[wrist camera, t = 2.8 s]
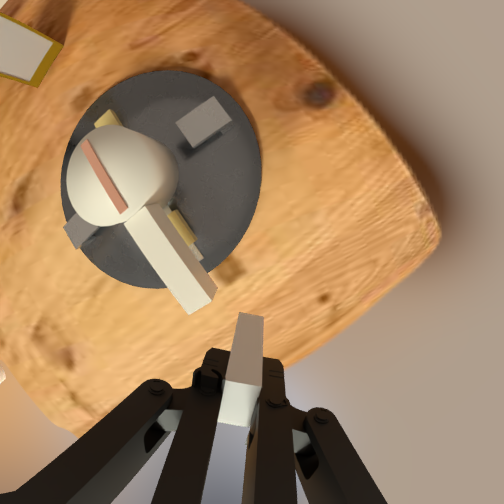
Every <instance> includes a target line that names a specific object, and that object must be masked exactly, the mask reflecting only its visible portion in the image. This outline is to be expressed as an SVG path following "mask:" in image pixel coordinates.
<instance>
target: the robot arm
mask: <svg viewBox="0 0 504 504" xmlns="http://www.w3.org/2000/svg"><path fill="white" fill-rule="evenodd" d="M263 325H264V317H262V316H257V315H252V314H247V313H242V312H239V316H238V321H237V325H236V330H235V334H234V339H233V344H232V348H231V351H226V350H221V349H216V348H211V349H210V350H208V351H207V352H206V355H205V358H204V360H203V363H202V366H201V367H199V368H197V369H196V370H195V371H194V372H193V380H192V386H191V387H189V388H185V389H172V387H171V385H170V384H169V383H167V382H166V381H163V380H160V379H150V380H147V381H145V382H143V383H142V384H141V385H140V386H139V387H138V388H137V389H136V390H135V391H133V392H132V393H131V394H130V395H129V396H128V397H127V398H125V399H124V400H123V401H122V402H121V403H120V404H119V405H118V406H116V407H115V408H114V409H113V410H112V411H111V412H110V413H108V414H107V415H106V416H105V417H104V418H103V419H102V420H100V421H99V422H98V423H97V424H96V425H95V426H93V427H92V428H91V429H90V430H89V431H88V432H86V433H85V434H84V435H83V436H82V437H81V438H79V439H78V440H77V441H76V442H75V443H74V444H72V445H71V446H70V447H69V448H68V449H66V450H65V451H64V452H63V453H62V454H60V455H59V456H58V457H57V458H56V459H55V460H53V461H52V462H51V463H50V464H48V465H47V466H46V467H45V468H43V469H42V470H41V471H40V472H38V473H37V474H36V475H35V476H34V477H32V478H31V479H30V480H29V481H27V482H26V483H25V484H24V485H22V486H21V487H20V488H19V489H17V490H16V491H13V492H8V493H3V494H0V504H111V502H112V501H113V500H114V499H115V498H116V497H117V496H118V495H119V494H120V492H121V491H122V490H123V489H124V488H125V487H126V486H127V484H128V483H129V482H130V481H131V480H132V479H133V477H134V476H135V475H136V474H137V473H138V472H139V470H140V469H141V468H142V467H143V465H144V464H145V463H146V462H147V461H148V460H149V458H150V457H151V456H152V454H154V452H155V451H156V450H157V449H158V448H159V446H160V445H161V444H162V442H163V441H164V440H165V439H166V438H167V436H168V435H169V434H170V432H171V431H176V433H175V435H174V439H173V441H172V444H171V447H170V450H169V453H168V456H167V458H166V461H165V464H164V467H163V470H162V473H161V476H160V479H159V481H158V484H157V487H156V490H155V493H154V496H153V499H152V502H151V504H201V500H202V495H203V490H204V485H205V480H206V475H207V470H208V465H209V461H210V455H211V450H212V446H213V441H214V436H215V431H216V426H217V422H222V423H227V424H232V425H238V426H244V427H249V426H250V431H249V434H248V437H247V440H246V443H245V445H247V451H246V462H245V472H244V483H243V495H242V503H241V504H297V488H296V473H295V469H296V472H297V474H298V477H299V480H300V482H301V484H302V487H303V490H304V492H305V495H306V497H307V500H308V502H309V504H387V502H386V500H385V499H384V497H383V495H382V494H381V492H380V490H379V489H378V487H377V485H376V484H375V482H374V480H373V479H372V477H371V475H370V474H369V472H368V471H367V469H366V467H365V465H364V464H363V462H362V460H361V459H360V457H359V455H358V454H357V452H356V450H355V449H354V447H353V445H352V444H351V442H350V440H349V439H348V437H347V435H346V434H345V432H344V430H343V428H342V427H341V425H340V423H339V422H338V420H337V418H336V417H335V415H334V414H333V413H332V412H331V411H329V410H327V409H324V408H318V407H316V408H312V409H310V410H309V411H308V412H305V411H302V410H299V409H296V408H294V407H293V406H291V405H290V402H289V400H288V399H287V398H286V395H285V382H284V369H283V365H282V363H281V362H280V360H279V359H272V358H266V357H263ZM250 423H251V424H250Z"/></svg>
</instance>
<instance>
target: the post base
mask: <svg viewBox="0 0 504 504" xmlns="http://www.w3.org/2000/svg"><path fill="white" fill-rule="evenodd" d="M109 109H111V110H113V111H114V112H115V114H116V115H117V117H118V118H119V120H120V122H121V123H122V125H123V127H125V128H128V129H130V130H133V131H135V132H138V133H140V134H143V135H145V136H148V137H150V138H153V139H155V140H158V141H160V142H162V143H163V144H165V145H166V146H167V147H168V148H169V149H170V150H171V151H172V153H173V154H174V156H175V158H176V161H177V164H178V170H179V179H178V184H177V188H176V191H175V193H174V195H173V197H172V199H171V200H170V201H169V203H168V204H167V205H166V206H165V207H164V208H162V209H163V211H164V212H165V214H166V215H169V214H170V213H171V212H173V211H174V210H178V211H179V213H180V214H181V216H182V217H183V218H184V220H185V221H186V223H187V224H188V226H189V227H190V229H191V230H192V232H193V233H194V234H195V236H196V237H197V239H198V240H196V241H195V242H194V243H192V244H191V245H189V246H188V247H189V248H190V250H191V251H192V253H193V254H194V255H195V257H196V258H197V260H198V261H199V263H200V264H201V265H202V267H203V268H204V269H205V271H206V272H207V273H208V272H210V271H211V270H213V269H214V268H215V267H216V266H218V265H219V264H220V263H221V262H222V261H223V260H224V259H225V258H226V257H227V256H228V255H229V254H230V253H231V252H232V251H233V250H234V248H235V247H236V246H237V245H238V243H239V242H240V241H241V239H242V237H243V236H244V234H245V232H246V230H247V229H248V227H249V225H250V222H251V220H252V217H253V215H254V213H255V210H256V206H257V202H258V198H259V194H260V186H261V159H260V152H259V146H258V143H257V139H256V136H255V133H254V130H253V128H252V126H251V124H250V122H249V119H248V118H247V116H246V115H245V113H244V112H243V110H242V109H241V107H240V106H239V105H238V103H237V102H236V101H235V100H234V99H233V98H232V97H231V96H230V95H229V94H228V93H227V92H225V91H224V90H223V89H222V88H221V87H219V86H218V85H216V84H214V83H213V82H211V81H209V80H207V79H205V78H202V77H200V76H197V75H195V74H191V73H186V72H182V71H170V70H166V71H154V72H149V73H144V74H140V75H137V76H134V77H132V78H129V79H127V80H125V81H123V82H121V83H119V84H117V85H116V86H114V87H113V88H111V89H110V90H108V91H107V92H105V93H104V94H103V95H102V96H101V97H100V98H98V99H97V100H96V101H95V102H94V103H93V104H92V106H91V107H90V108H89V109H88V110H87V111H86V113H85V114H84V115H83V117H82V118H81V119H80V121H79V123H78V124H77V126H76V128H75V130H74V131H73V134H72V136H71V138H70V140H69V143H68V146H67V149H66V152H65V155H64V160H63V165H62V172H61V198H62V206H63V210H64V214H65V218H66V221H67V223H66V225H65V226H64V227H63V228H64V229H65V231H66V233H67V235H68V236H69V238H70V240H71V242H72V243H73V245H74V247H75V248H76V249H79V248H80V249H81V250H82V252H83V253H84V254H85V255H86V256H87V257H88V259H89V260H90V261H91V262H92V263H93V264H94V265H96V266H97V267H98V268H99V269H100V270H102V271H103V272H105V273H106V274H108V275H109V276H111V277H113V278H115V279H117V280H119V281H121V282H123V283H126V284H129V285H132V286H137V287H142V288H155V289H159V288H168V287H167V286H166V285H165V283H164V282H163V281H162V279H161V278H160V276H159V275H158V274H157V272H156V271H155V270H154V268H153V267H152V265H151V264H150V262H149V261H148V260H147V258H146V257H145V255H144V254H143V252H142V251H141V249H140V248H139V246H138V245H137V243H136V242H135V241H134V239H133V237H132V236H131V234H130V233H129V231H128V230H127V228H126V227H125V225H124V223H125V222H126V221H125V222H122V223H118V224H115V225H111V226H96V225H93V224H91V223H89V222H87V221H85V220H84V219H83V218H81V217H80V216H79V215H78V213H77V212H76V211H75V209H74V208H73V206H72V204H71V202H70V199H69V196H68V191H67V182H66V177H67V169H68V164H69V161H70V158H71V156H72V153H73V151H74V149H75V148H76V146H77V145H78V143H79V142H80V141H81V140H82V138H83V137H85V136H86V135H87V134H88V133H89V132H91V131H92V130H94V129H96V127H95V125H94V123H95V122H96V121H97V120H98V119H99V118H100V117H101V116H103V115H104V114H105V113H106V112H107V111H108V110H109Z"/></svg>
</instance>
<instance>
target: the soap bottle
mask: <svg viewBox="0 0 504 504" xmlns="http://www.w3.org/2000/svg"><path fill="white" fill-rule="evenodd" d="M63 46H64V45H62V44H60V43H58V42H57V41H55V40H53V39H51V38H50V37H48V36H46V35H44V34H42V33H41V32H39V31H37V30H35V29H33V28H31V27H29V26H27V25H26V24H24V23H22V22H20V21H18V20H16V19H14V18H12V17H10V16H8V15H5V14H3V13H1V12H0V76H1V77H5V78H8V79H11V80H15V81H18V82H21V83H24V84H28V85H31V86H34V87H37V88H38V87H39V85H40V83H41V81H42V80H43V78H44V76H45V74H46V73H47V71H48V69H49V68H50V66H51V64H52V63H53V61H54V60H55V58H56V57H57V55H58V54H59V52H60V51H61V49H62V48H63Z"/></svg>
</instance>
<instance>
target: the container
mask: <svg viewBox="0 0 504 504" xmlns="http://www.w3.org/2000/svg"><path fill="white" fill-rule="evenodd" d="M5 378H6V376H5V372H4V370H3V368H2V366H1V364H0V383H1V382H3V381H4V380H5Z"/></svg>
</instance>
